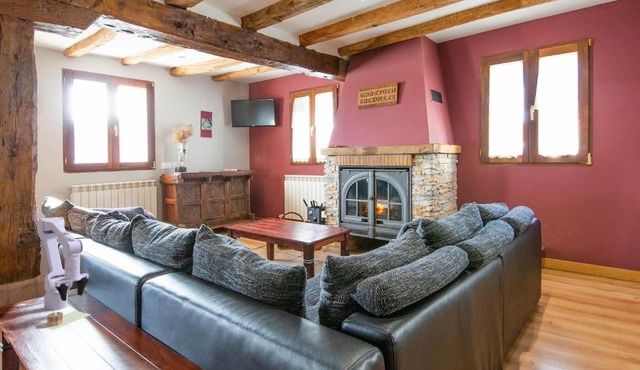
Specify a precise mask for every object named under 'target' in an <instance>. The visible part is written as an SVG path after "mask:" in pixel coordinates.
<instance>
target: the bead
mask: <svg viewBox="0 0 640 370" xmlns="http://www.w3.org/2000/svg"><path fill="white" fill-rule="evenodd" d="M55 312H56V313H57V315H56V316H53V313H55ZM55 312H51V313H49V314H47V321H46V322H47V325H48V326H57V325H60V324H62V323H63V315H64V313H63V312H62V311H55Z"/></svg>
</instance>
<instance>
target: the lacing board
mask: <svg viewBox="0 0 640 370" xmlns="http://www.w3.org/2000/svg"><path fill="white" fill-rule="evenodd" d="M56 312H57V311H55V313H54V312H52V313H53V316H56V315H57V313H56ZM91 315H92V314H90V313H86V312H82V311H78V310H77V311H76V310H73V311H70V312H68V313H66V314H63V323H62V324H60V325H57V326H48V325H47V321H44V322H42V323H38V324H37V326H38V327H42V328H46V329H50V330H55V331H56V329H60V328H62V327H64V326H66V325H69V324H72V323H75V322H77V321H79V320H82V319H84V318H86V317H89V316H91Z"/></svg>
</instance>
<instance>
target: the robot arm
mask: <svg viewBox="0 0 640 370" xmlns="http://www.w3.org/2000/svg"><path fill="white" fill-rule="evenodd" d="M65 226H66V225H65V218H64V217H63V216H59V217H58V216H57V217H46V218H45V217H44V218H42V217H40V218H38V220H37V222H36V228H37V234H38V236H39V238H40V239H43V243H44V247H45V251H46V257H47V262H48V267H49V273H48V274H46V275H45V277H44V279H43V280H44V284H43V285H44V290H45V293H44V298H43V308H44V309H49V310H51V311H60V310H63V309H65V308H67V307H68V305H69V304H68V301H69V298H68V295H69V294H68V293H69V291H70V289H71V288H72V287H73V283H74V282H76V287H77V288H76V289H77V293H76V294H77V295H78V296H84V295H83V294H84V291H85V288H86V286H87V284H88V282H89V277H90V276H89V273H87V272H86V273H85V272H84V273H81V253H82V252H83V249H84V248H83V247H84V245H83V242H82V240H81V239H76V238H75V236H74V235H73V234H72V232H70V231H67V230H66V228H65ZM58 243H59V245H61V247H62V248H61V250H62V255H63V259H64V269H63V265H62V259H61V255H60V249H59V245H58Z"/></svg>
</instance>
